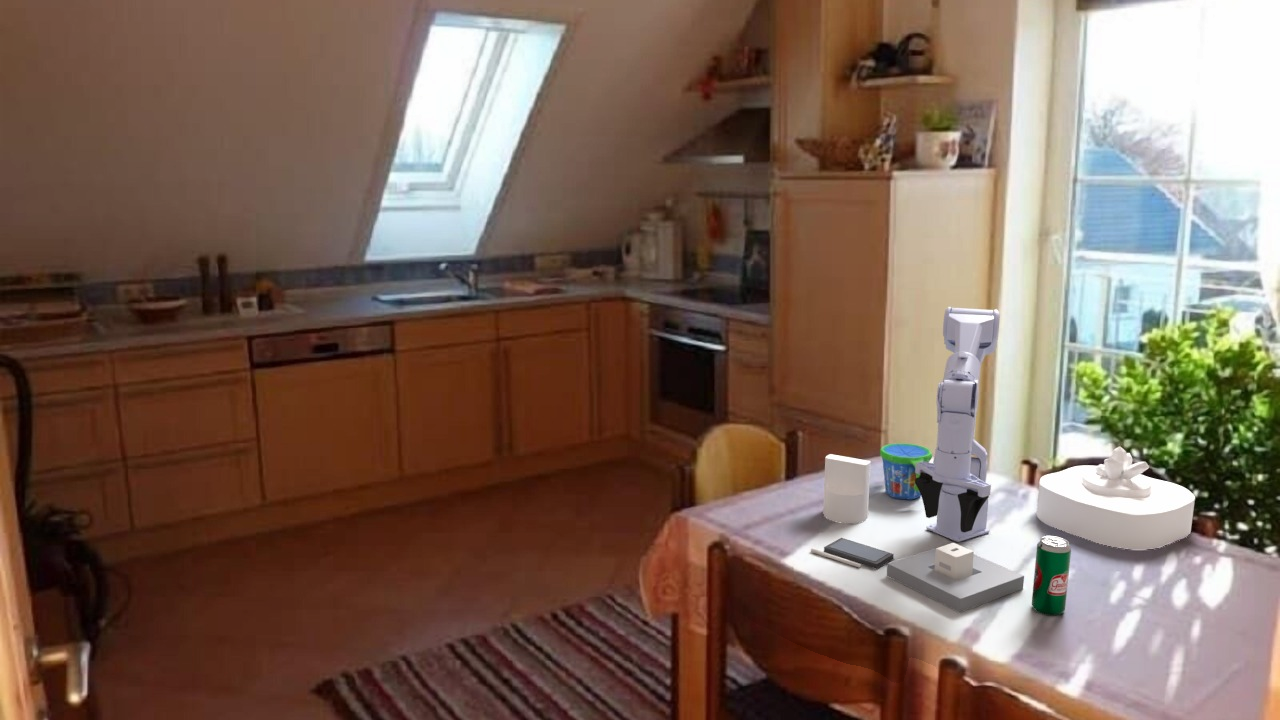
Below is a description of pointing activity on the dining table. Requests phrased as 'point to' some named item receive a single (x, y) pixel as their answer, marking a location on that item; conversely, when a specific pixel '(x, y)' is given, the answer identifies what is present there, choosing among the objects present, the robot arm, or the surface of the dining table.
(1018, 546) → the dining table surface
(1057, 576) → the soda can
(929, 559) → the socket plate
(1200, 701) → the dining table surface
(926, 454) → the snack cup
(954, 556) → the brick
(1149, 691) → the dining table surface
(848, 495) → the white rounded block
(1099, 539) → the tissue box
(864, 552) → the tablet with stylus
